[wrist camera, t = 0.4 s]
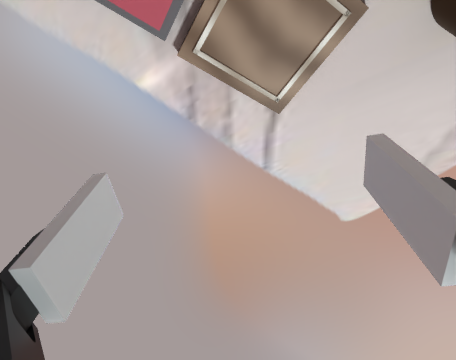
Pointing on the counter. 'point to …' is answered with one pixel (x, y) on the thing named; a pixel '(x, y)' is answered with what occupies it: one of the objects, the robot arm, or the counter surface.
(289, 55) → the marked board
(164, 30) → the ink pad
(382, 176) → the robot arm
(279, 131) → the counter surface
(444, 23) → the olive oil
